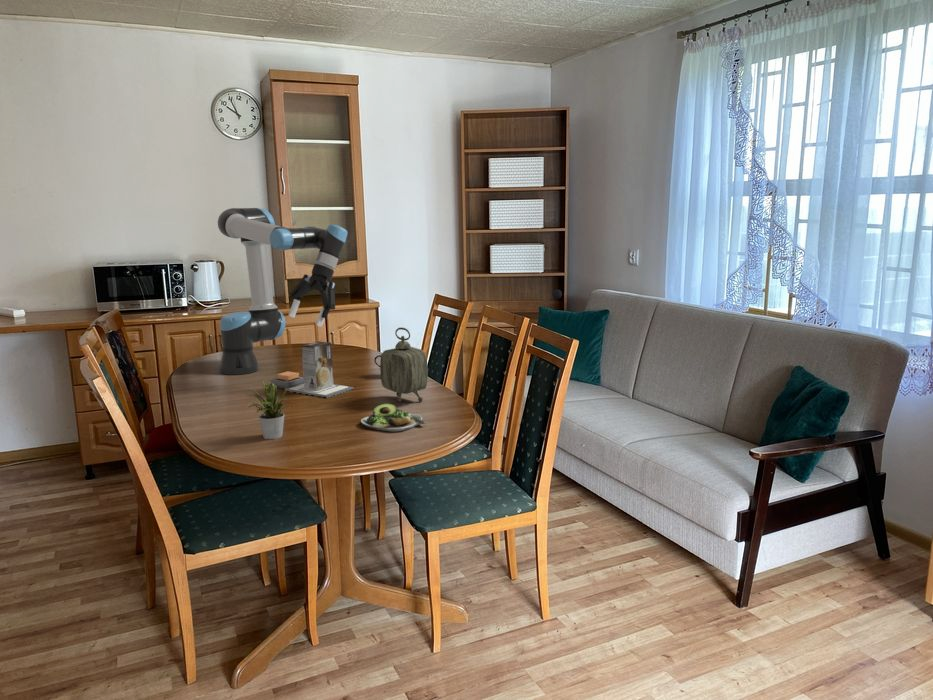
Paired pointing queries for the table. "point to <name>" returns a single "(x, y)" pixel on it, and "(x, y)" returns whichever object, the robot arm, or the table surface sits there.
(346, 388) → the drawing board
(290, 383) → the button housing
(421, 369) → the tabletop clock
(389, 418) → the salad plate
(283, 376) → the button
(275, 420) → the house plant
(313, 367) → the coffee box
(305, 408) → the table surface
